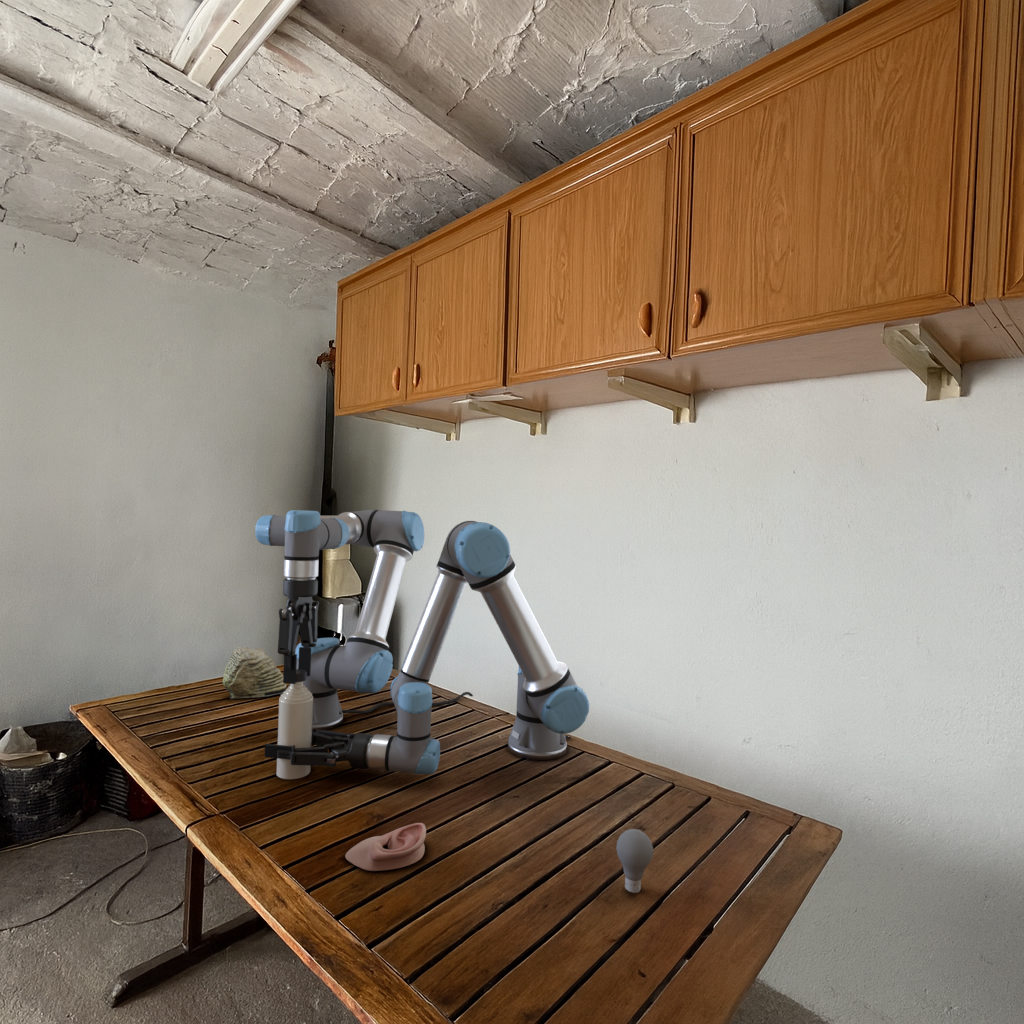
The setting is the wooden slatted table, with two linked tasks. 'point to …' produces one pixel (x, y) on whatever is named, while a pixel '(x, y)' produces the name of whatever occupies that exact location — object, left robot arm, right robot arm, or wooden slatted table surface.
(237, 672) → the fossil
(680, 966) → the wooden slatted table surface
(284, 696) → the bottle
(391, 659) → the left robot arm
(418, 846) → the anatomical model
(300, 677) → the cap
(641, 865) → the light bulb
